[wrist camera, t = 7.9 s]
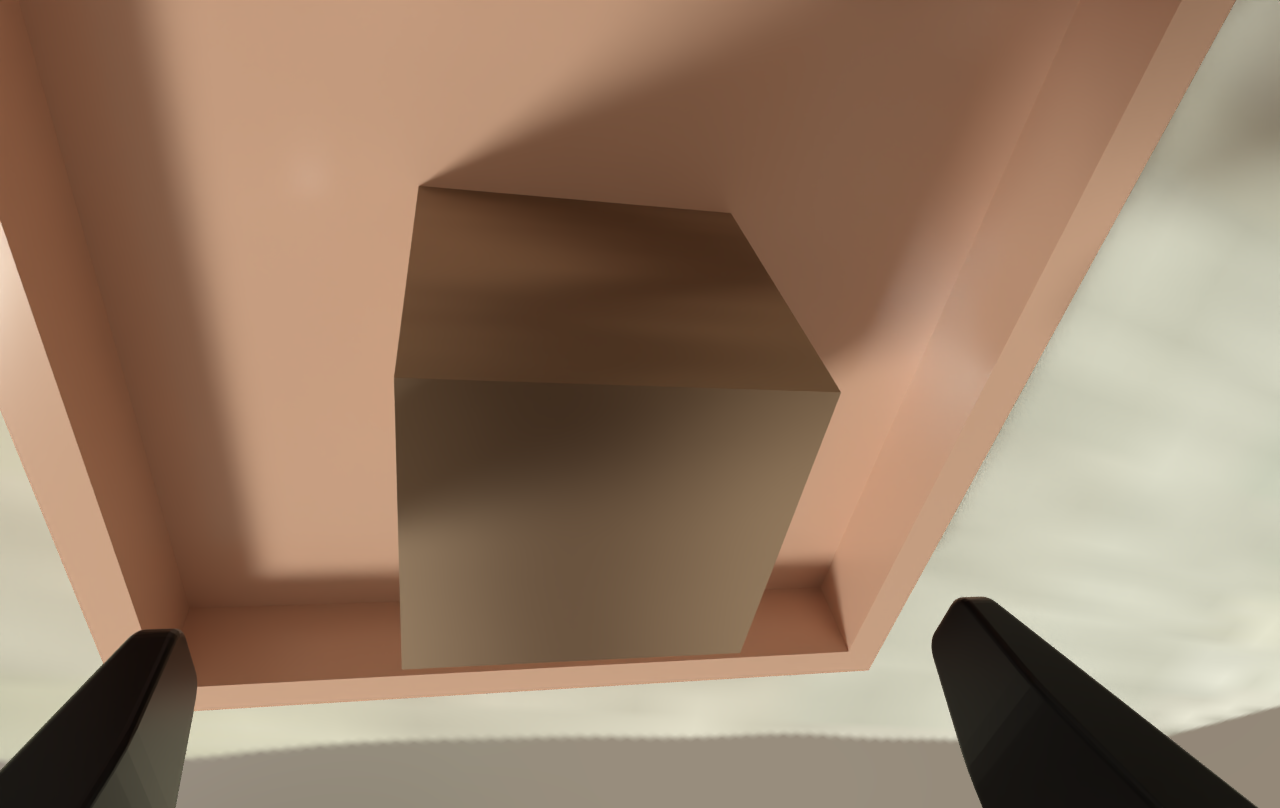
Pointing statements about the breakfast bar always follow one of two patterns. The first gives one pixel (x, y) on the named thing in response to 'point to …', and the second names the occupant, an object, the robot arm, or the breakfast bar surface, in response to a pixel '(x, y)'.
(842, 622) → the terracotta dish
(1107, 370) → the breakfast bar surface
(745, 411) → the walnut cube
